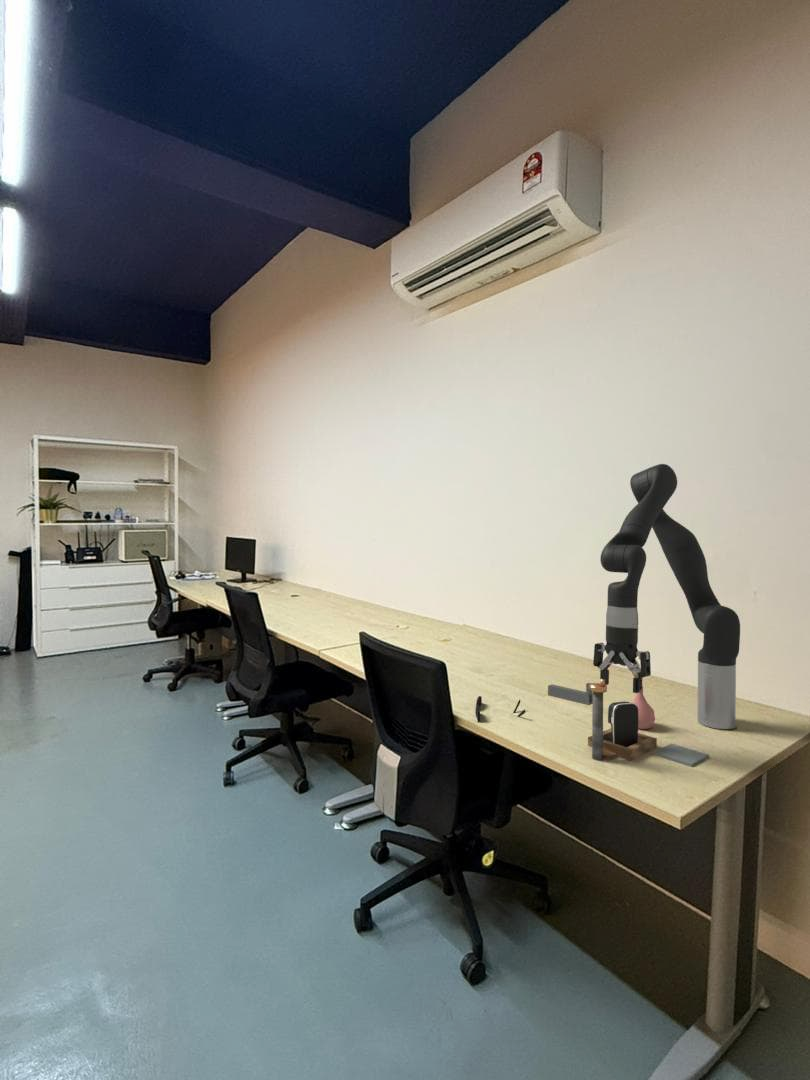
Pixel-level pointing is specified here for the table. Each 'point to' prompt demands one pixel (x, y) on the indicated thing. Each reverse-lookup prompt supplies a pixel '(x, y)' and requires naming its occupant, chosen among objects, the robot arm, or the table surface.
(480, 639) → the table surface
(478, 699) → the thin black curved strips
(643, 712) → the pink vase
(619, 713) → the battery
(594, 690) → the bar
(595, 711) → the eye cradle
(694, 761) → the pad
